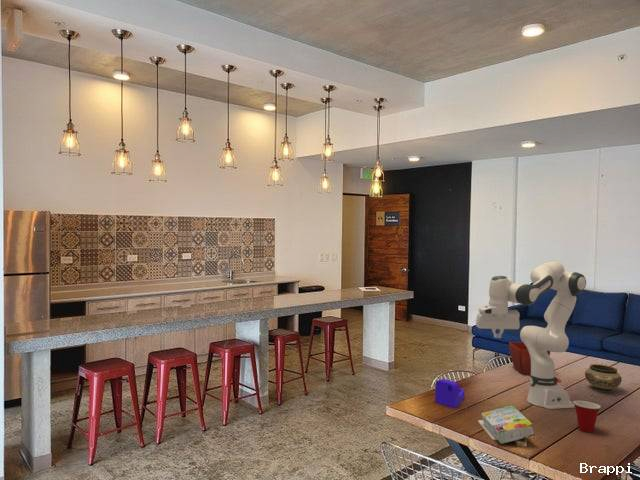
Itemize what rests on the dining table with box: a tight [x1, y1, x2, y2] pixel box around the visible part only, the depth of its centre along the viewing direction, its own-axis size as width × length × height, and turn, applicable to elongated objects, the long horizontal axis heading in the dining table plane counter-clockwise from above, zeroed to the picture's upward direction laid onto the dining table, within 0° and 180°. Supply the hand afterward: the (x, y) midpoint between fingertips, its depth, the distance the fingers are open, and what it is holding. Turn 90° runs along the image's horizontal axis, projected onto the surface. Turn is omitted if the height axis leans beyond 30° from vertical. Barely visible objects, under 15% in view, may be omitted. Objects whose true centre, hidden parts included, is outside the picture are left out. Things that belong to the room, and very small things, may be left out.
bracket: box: [434, 378, 466, 409], centre depth 250 cm, size 18×11×12 cm, turn 134°
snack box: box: [481, 404, 536, 445], centre depth 210 cm, size 21×6×15 cm
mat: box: [477, 419, 498, 441], centre depth 214 cm, size 8×20×1 cm, turn 0°
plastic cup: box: [573, 400, 602, 433], centre depth 217 cm, size 11×11×12 cm
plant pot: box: [508, 341, 552, 376], centre depth 303 cm, size 19×19×17 cm
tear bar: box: [513, 437, 528, 447], centre depth 210 cm, size 4×23×3 cm, turn 0°
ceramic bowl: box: [584, 363, 623, 393], centre depth 272 cm, size 24×18×15 cm
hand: (497, 337), depth 233 cm, fingers closed
